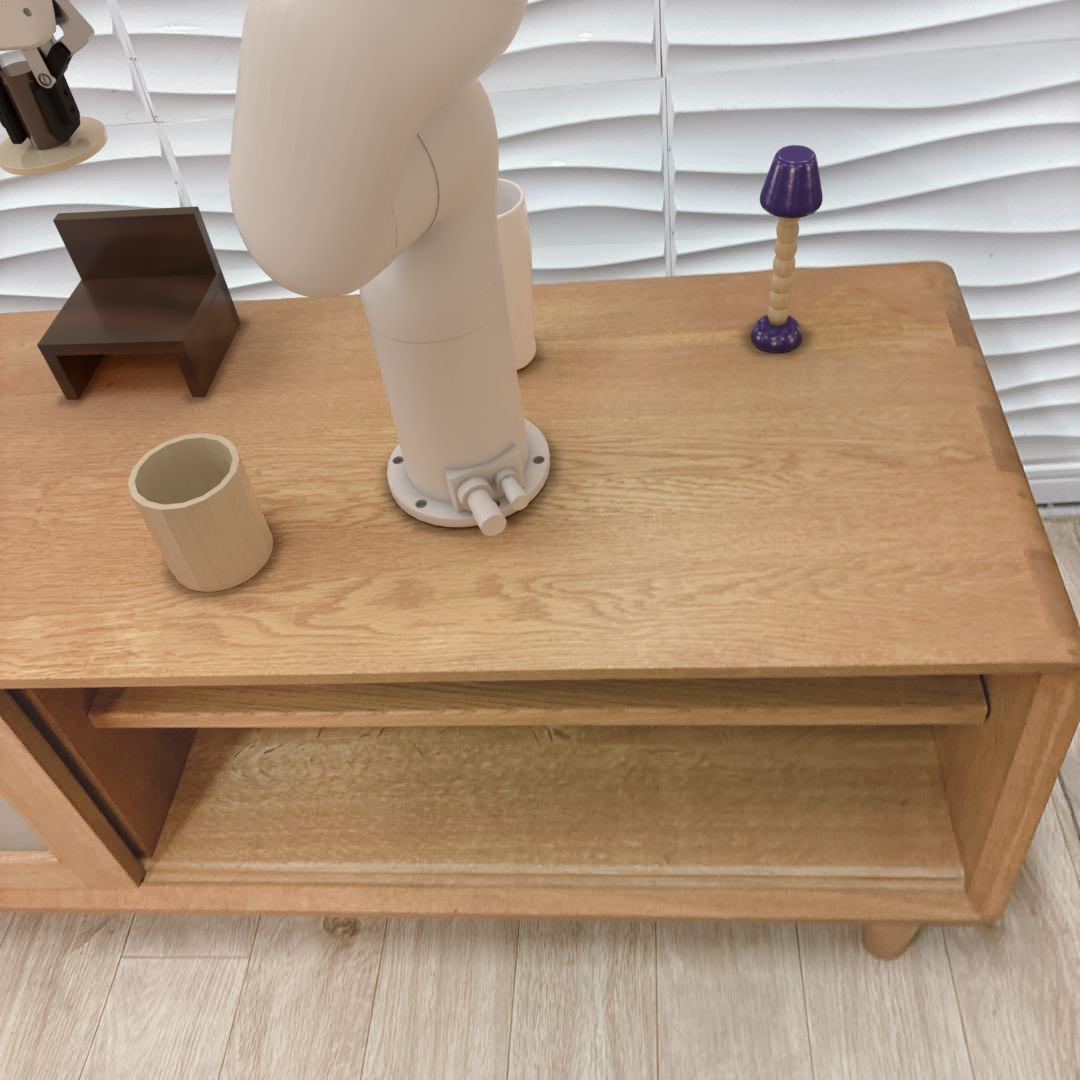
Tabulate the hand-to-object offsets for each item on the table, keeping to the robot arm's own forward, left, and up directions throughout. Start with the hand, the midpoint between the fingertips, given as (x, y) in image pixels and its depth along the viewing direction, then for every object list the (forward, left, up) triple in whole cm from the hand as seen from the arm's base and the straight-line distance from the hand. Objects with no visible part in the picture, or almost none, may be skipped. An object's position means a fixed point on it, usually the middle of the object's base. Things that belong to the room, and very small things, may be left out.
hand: (47, 132), depth 81 cm
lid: (0, 0, -1) cm, 1 cm away
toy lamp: (-25, -49, -23) cm, 60 cm away
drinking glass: (-15, -28, -23) cm, 39 cm away
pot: (-26, -1, -22) cm, 34 cm away
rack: (+2, 0, -22) cm, 23 cm away
